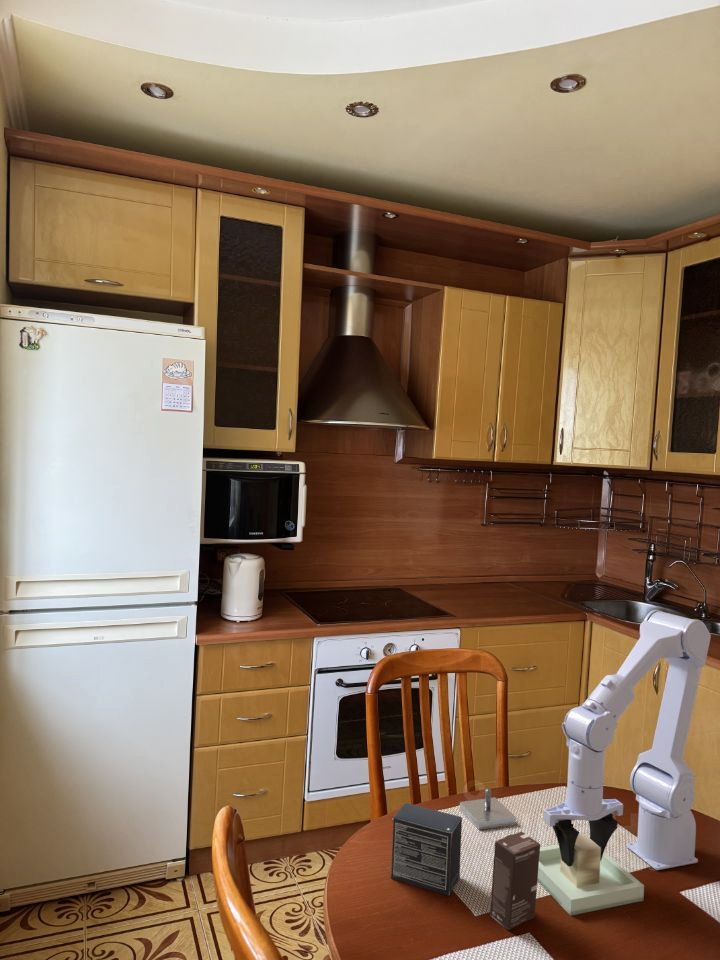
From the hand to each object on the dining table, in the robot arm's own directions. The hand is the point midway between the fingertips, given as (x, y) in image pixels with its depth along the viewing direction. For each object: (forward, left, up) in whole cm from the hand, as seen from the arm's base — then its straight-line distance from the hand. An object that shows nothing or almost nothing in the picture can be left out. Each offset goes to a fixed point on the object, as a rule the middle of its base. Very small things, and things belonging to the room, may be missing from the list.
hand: (581, 860), depth 116 cm
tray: (0, 0, -4) cm, 4 cm away
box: (+16, +5, -4) cm, 17 cm away
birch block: (0, 0, -3) cm, 3 cm away
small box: (+25, -8, -4) cm, 27 cm away
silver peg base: (+5, -23, -4) cm, 24 cm away
